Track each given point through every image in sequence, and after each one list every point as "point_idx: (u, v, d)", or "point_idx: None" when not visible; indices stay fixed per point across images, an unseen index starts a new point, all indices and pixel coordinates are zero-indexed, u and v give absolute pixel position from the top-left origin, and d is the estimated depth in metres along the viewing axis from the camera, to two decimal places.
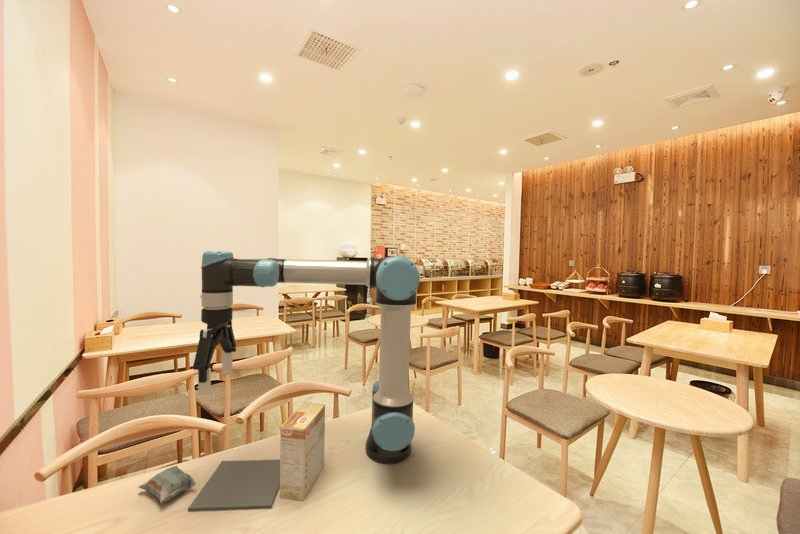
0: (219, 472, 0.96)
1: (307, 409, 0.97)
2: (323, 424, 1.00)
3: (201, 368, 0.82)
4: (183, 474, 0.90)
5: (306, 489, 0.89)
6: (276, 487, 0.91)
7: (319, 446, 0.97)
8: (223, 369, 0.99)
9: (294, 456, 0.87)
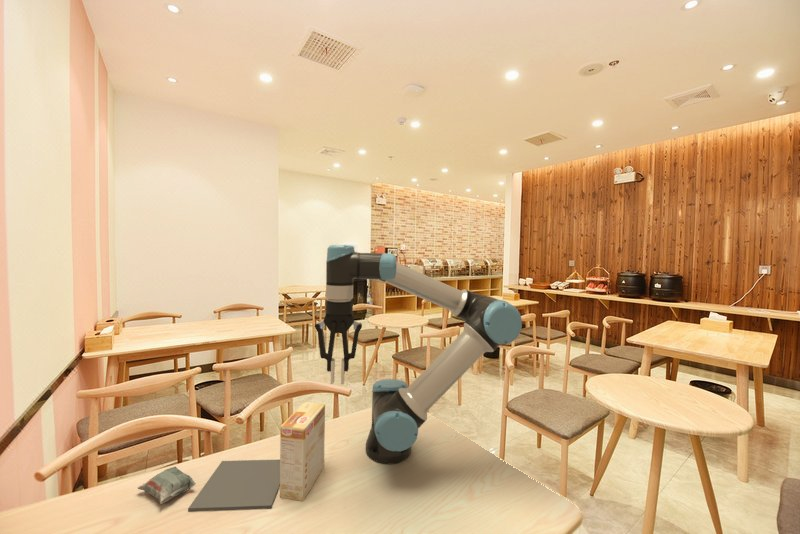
0: (219, 472, 0.96)
1: (307, 409, 0.97)
2: (323, 424, 1.00)
3: None
4: (183, 474, 0.90)
5: (306, 489, 0.89)
6: (276, 487, 0.91)
7: (319, 446, 0.97)
8: None
9: (294, 456, 0.87)
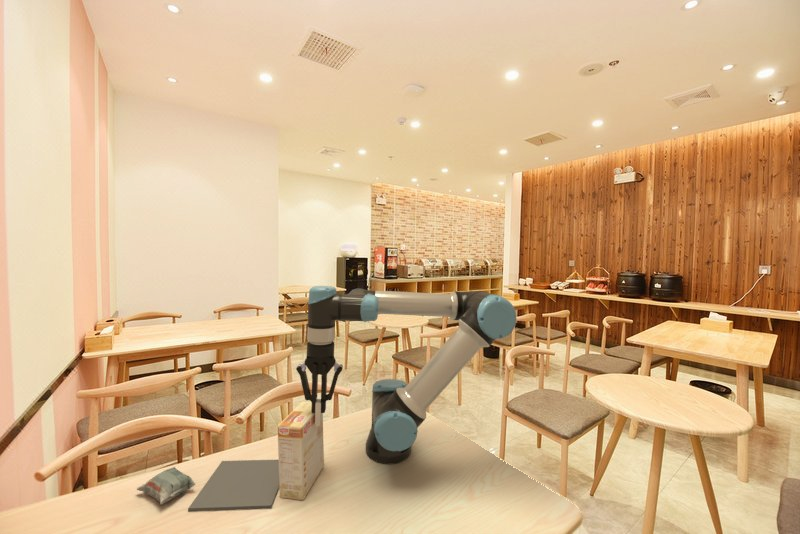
0: (219, 472, 0.96)
1: (305, 408, 0.97)
2: (321, 423, 1.00)
3: None
4: (182, 475, 0.90)
5: (306, 488, 0.89)
6: (276, 487, 0.91)
7: (317, 445, 0.97)
8: None
9: (292, 456, 0.87)
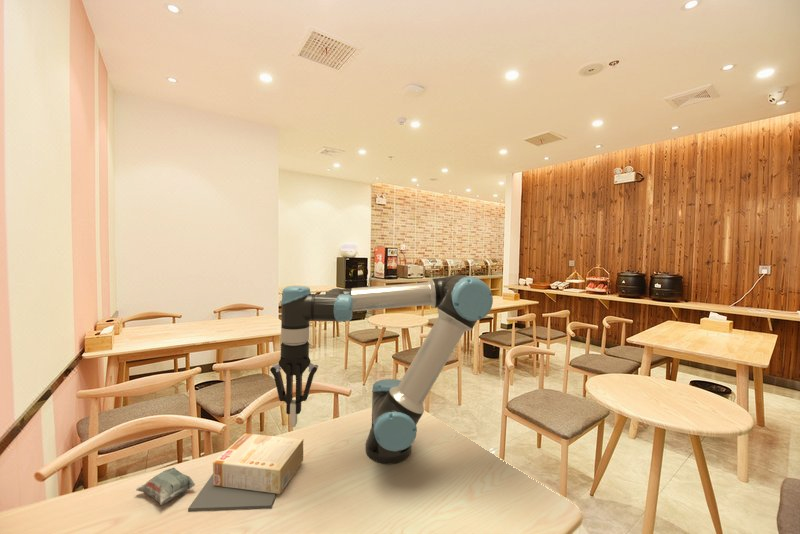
0: None
1: None
2: (259, 436, 1.03)
3: None
4: (182, 475, 0.89)
5: (277, 464, 0.90)
6: None
7: (268, 444, 0.99)
8: None
9: (238, 474, 0.89)
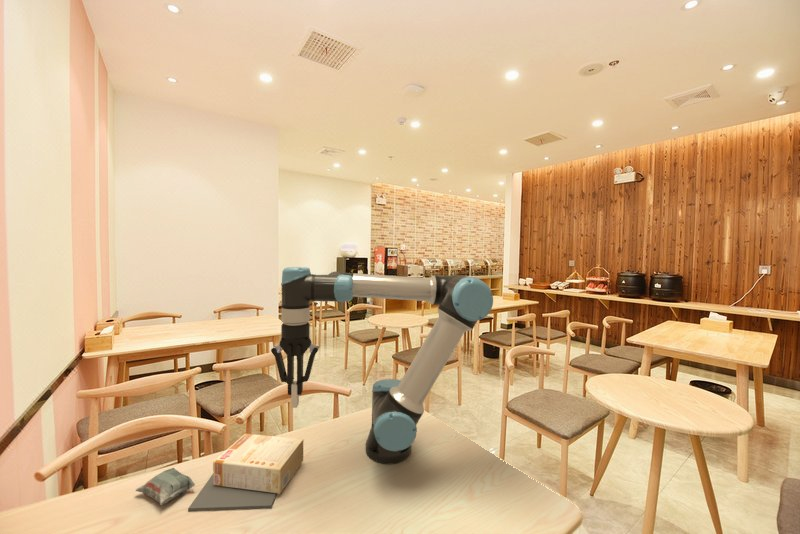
0: None
1: None
2: (260, 437, 1.03)
3: None
4: (182, 475, 0.89)
5: (277, 463, 0.90)
6: None
7: (268, 444, 0.99)
8: None
9: (238, 473, 0.89)
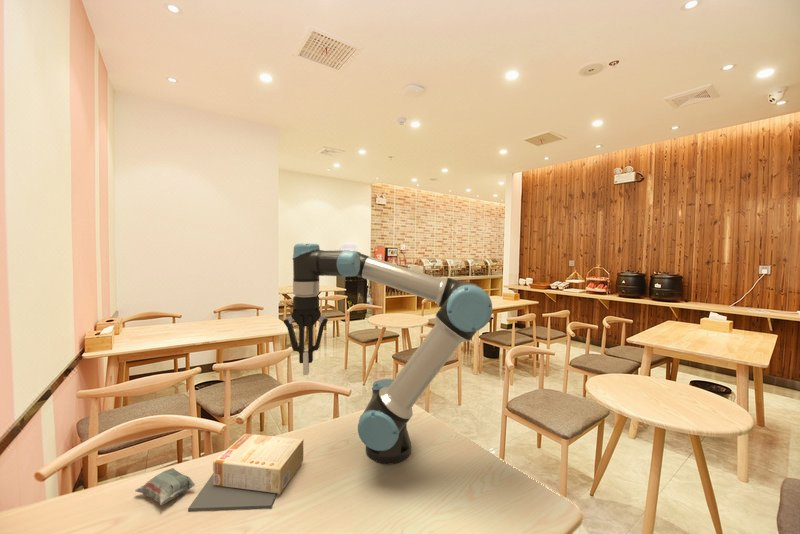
0: None
1: None
2: (260, 437, 1.03)
3: None
4: (181, 476, 0.89)
5: (277, 463, 0.90)
6: None
7: (268, 444, 0.99)
8: None
9: (238, 473, 0.89)
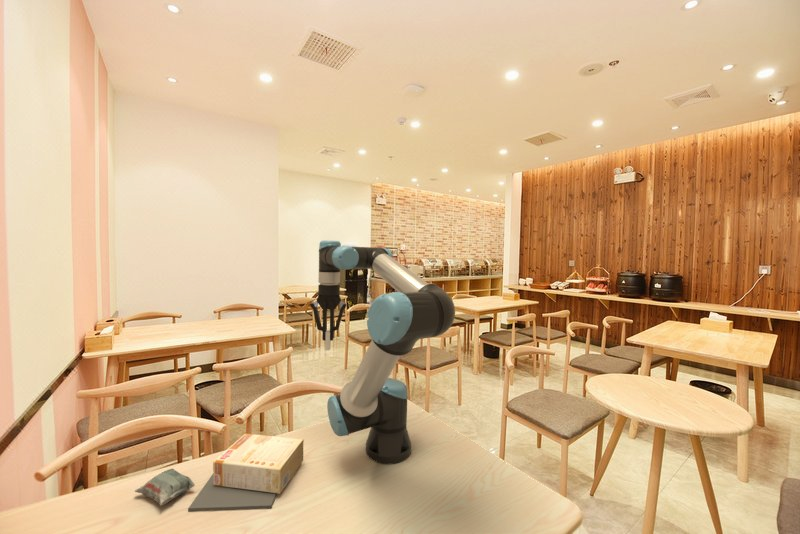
0: None
1: None
2: (260, 437, 1.03)
3: None
4: (181, 476, 0.89)
5: (277, 463, 0.90)
6: None
7: (268, 444, 0.99)
8: None
9: (238, 473, 0.89)
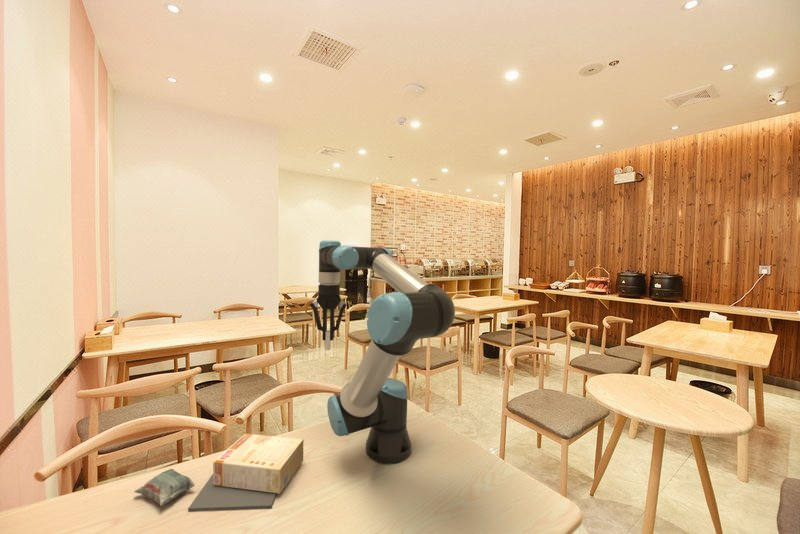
0: None
1: None
2: (260, 437, 1.03)
3: None
4: (181, 476, 0.89)
5: (277, 463, 0.90)
6: None
7: (268, 444, 0.99)
8: None
9: (238, 473, 0.89)
